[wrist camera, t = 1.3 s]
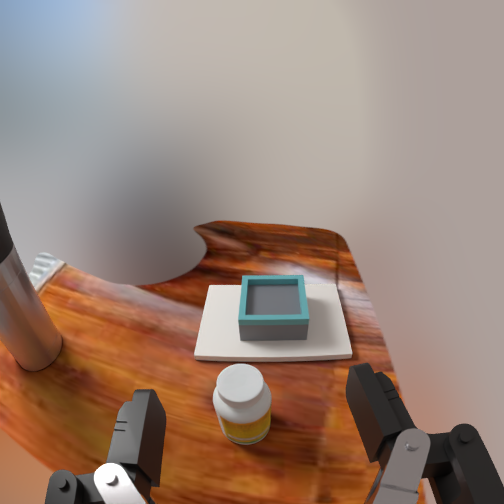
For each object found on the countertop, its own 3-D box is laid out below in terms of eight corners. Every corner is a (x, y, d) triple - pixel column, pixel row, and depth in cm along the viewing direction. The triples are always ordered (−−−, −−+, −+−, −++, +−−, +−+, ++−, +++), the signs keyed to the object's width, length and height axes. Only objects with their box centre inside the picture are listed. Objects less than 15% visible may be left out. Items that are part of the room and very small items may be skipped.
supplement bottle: (213, 417, 30) (197, 372, 25) (253, 397, 32) (250, 347, 27) (237, 454, 26) (227, 419, 21) (280, 430, 28) (284, 388, 23)
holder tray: (195, 359, 37) (188, 334, 34) (210, 289, 49) (206, 264, 46) (350, 358, 36) (358, 333, 33) (334, 288, 47) (338, 263, 45)
